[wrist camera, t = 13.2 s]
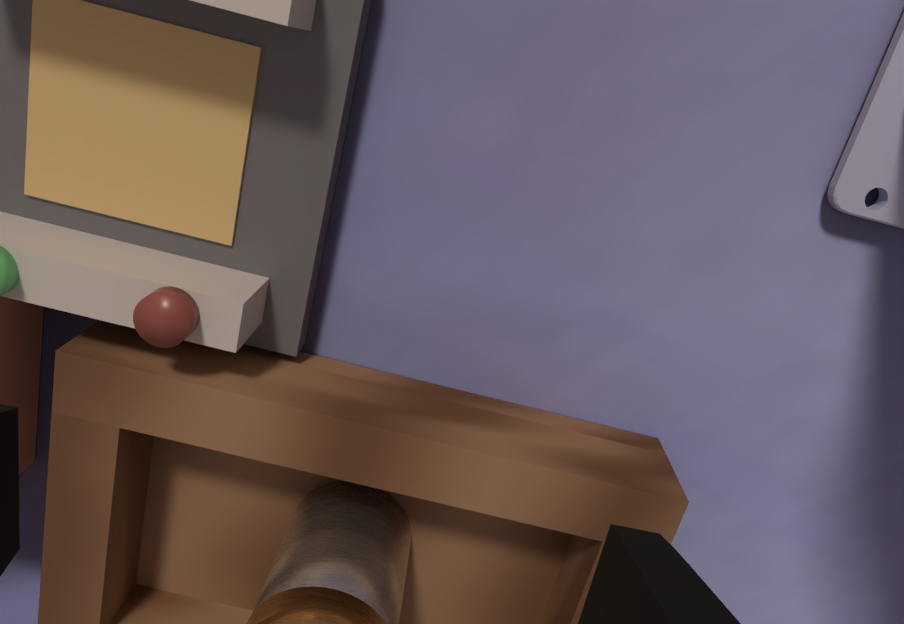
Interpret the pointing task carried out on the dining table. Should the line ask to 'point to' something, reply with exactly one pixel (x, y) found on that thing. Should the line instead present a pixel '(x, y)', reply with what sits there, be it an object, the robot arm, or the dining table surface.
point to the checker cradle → (174, 161)
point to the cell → (339, 560)
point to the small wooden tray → (21, 369)
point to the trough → (319, 484)
